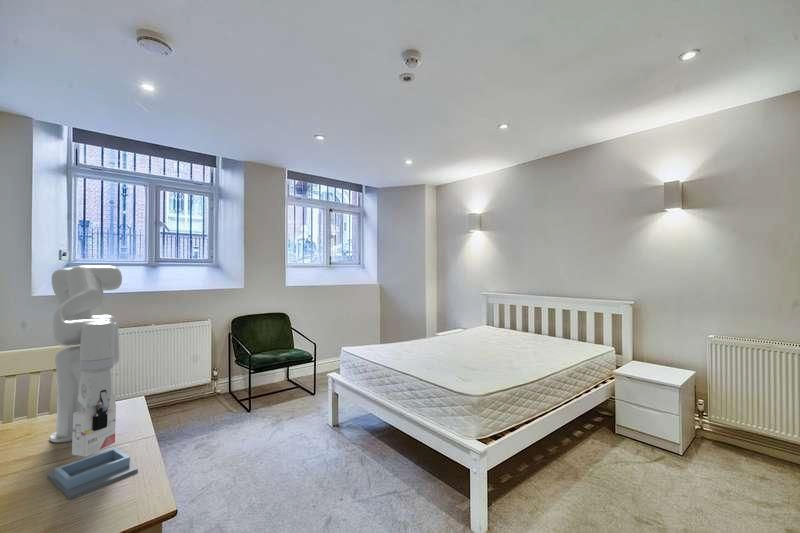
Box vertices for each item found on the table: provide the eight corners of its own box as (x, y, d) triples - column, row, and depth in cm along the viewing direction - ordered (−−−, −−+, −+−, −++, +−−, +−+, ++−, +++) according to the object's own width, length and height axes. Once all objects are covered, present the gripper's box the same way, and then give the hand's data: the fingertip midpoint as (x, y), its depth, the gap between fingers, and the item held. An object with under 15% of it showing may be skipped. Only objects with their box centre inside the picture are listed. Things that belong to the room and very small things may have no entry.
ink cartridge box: (102, 440, 106) (104, 392, 106) (115, 442, 105) (117, 393, 105) (70, 454, 97) (72, 402, 98) (83, 457, 96) (86, 404, 97)
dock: (47, 477, 99) (47, 465, 99) (111, 454, 112) (112, 443, 112) (70, 499, 90) (70, 486, 90) (137, 471, 103) (137, 460, 103)
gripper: (69, 362, 103) (67, 423, 102) (92, 371, 94) (90, 439, 94) (100, 357, 109) (99, 415, 109) (125, 365, 100) (123, 428, 100)
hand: (95, 425), depth 101 cm, fingers closed on ink cartridge box, 6 cm apart
